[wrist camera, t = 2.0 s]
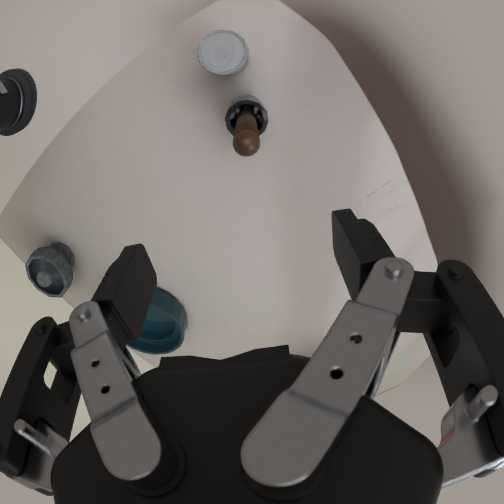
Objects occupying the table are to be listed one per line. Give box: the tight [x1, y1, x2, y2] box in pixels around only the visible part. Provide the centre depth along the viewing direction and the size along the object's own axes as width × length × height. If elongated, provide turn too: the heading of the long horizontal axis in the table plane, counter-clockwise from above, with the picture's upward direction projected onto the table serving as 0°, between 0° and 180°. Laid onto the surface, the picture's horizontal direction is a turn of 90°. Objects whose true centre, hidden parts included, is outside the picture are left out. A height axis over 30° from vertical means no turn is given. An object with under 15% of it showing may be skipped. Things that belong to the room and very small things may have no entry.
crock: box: [225, 95, 268, 136], centre depth 34 cm, size 5×5×8 cm
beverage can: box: [198, 30, 248, 75], centre depth 28 cm, size 5×5×12 cm
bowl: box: [126, 288, 187, 354], centre depth 56 cm, size 15×15×5 cm
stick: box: [233, 105, 260, 156], centre depth 28 cm, size 2×2×20 cm
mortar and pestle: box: [25, 242, 74, 297], centre depth 44 cm, size 11×9×12 cm
